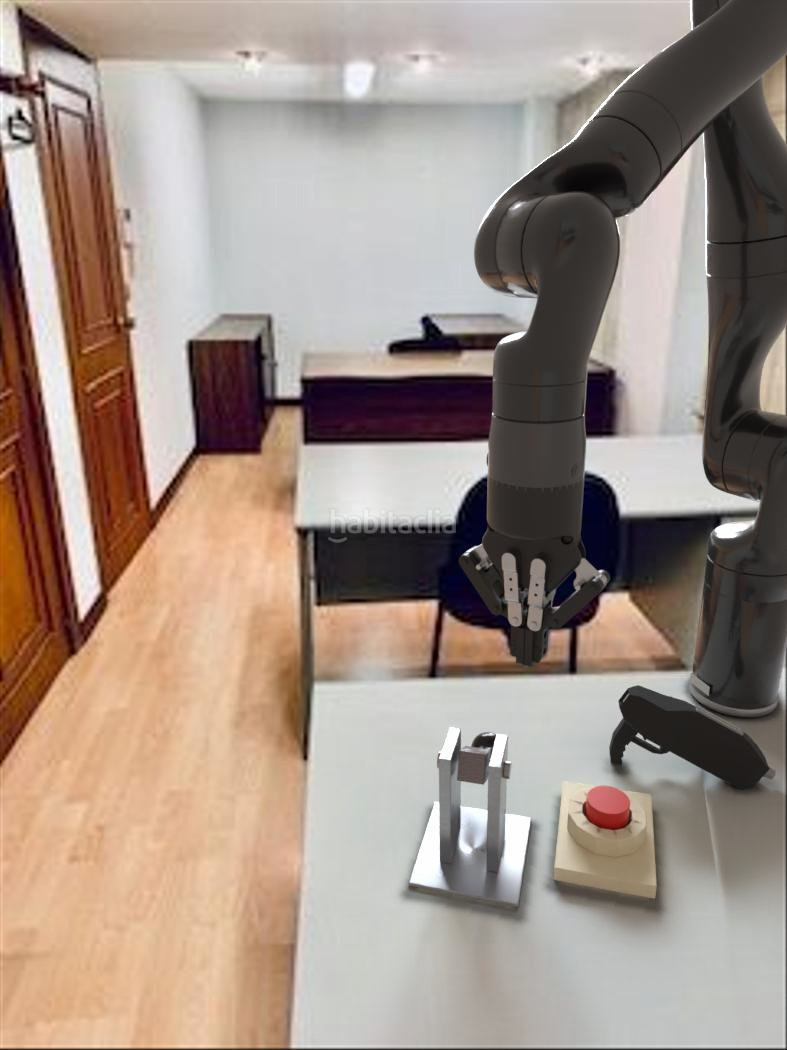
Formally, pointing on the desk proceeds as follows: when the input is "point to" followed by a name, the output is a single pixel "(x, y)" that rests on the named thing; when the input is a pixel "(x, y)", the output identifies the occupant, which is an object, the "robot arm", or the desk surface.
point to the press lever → (476, 759)
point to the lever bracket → (473, 834)
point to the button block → (606, 846)
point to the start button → (607, 807)
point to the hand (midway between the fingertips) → (528, 661)
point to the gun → (688, 737)
